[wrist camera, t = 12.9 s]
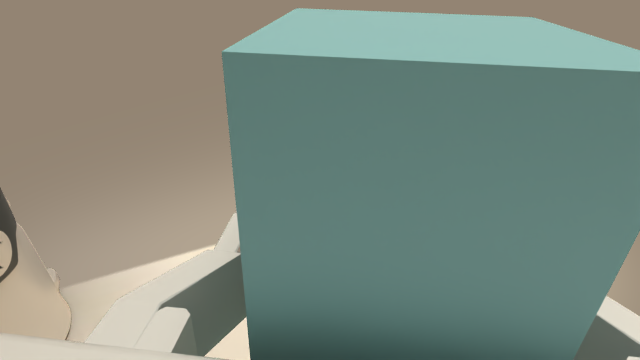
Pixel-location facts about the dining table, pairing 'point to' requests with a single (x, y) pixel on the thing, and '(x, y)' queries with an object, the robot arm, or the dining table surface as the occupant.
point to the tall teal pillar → (430, 184)
